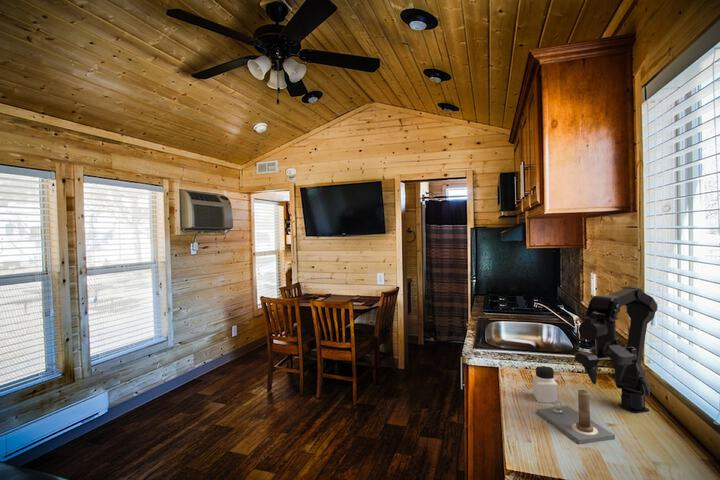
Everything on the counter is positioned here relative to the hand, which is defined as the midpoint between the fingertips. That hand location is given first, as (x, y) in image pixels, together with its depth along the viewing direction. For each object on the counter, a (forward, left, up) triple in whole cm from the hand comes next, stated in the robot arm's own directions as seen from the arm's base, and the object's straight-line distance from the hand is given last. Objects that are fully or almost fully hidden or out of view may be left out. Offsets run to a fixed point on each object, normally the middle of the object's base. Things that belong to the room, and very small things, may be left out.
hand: (606, 382), depth 123 cm
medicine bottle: (+8, -20, -13) cm, 25 cm away
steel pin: (+12, -8, -12) cm, 19 cm away
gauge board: (+12, -1, -13) cm, 18 cm away
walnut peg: (+12, +4, -12) cm, 17 cm away
